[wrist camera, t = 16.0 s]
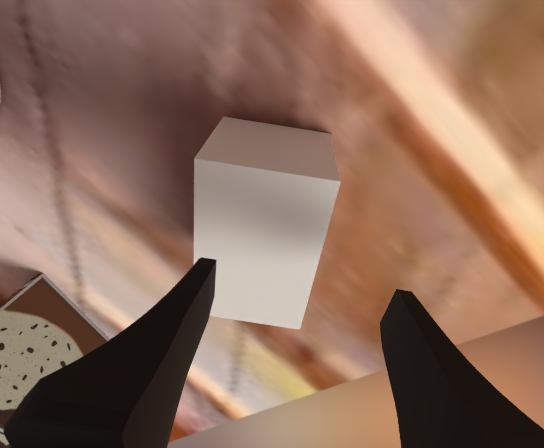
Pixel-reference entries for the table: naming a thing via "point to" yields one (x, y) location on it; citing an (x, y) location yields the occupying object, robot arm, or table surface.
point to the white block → (263, 217)
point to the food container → (39, 340)
